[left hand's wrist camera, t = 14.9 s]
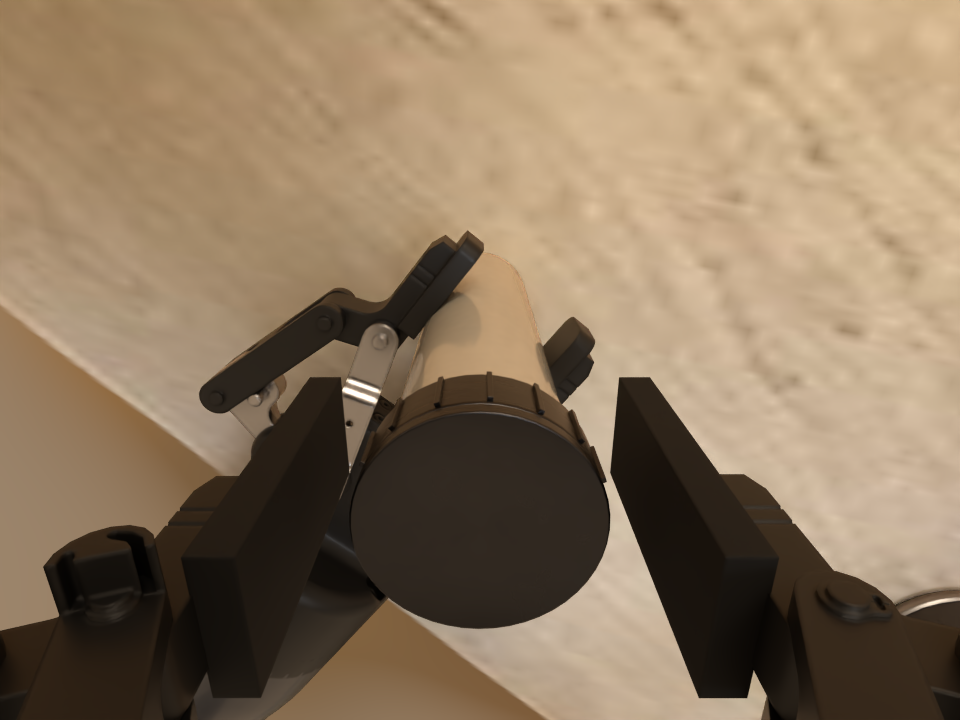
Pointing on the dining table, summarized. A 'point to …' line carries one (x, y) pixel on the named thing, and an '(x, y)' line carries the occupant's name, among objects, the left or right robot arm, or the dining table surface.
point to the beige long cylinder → (482, 332)
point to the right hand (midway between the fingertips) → (529, 287)
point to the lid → (479, 503)
